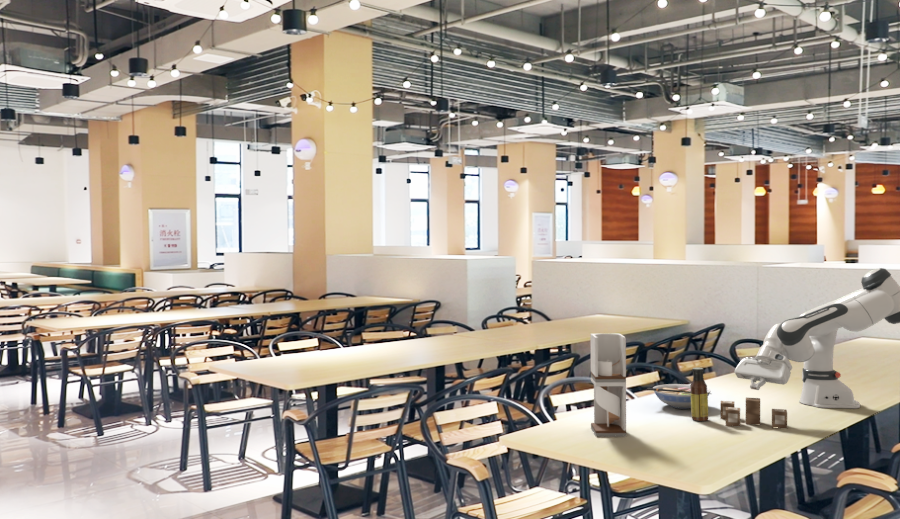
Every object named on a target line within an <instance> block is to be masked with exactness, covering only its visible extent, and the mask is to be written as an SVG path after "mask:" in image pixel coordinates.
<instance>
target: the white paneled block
mask: <svg viewBox="0 0 900 519" xmlns="http://www.w3.org/2000/svg"><path fill="white" fill-rule="evenodd" d="M726 407H734V408H735V401H732V400H720V420H726Z"/></svg>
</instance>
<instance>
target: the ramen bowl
mask: <svg viewBox="0 0 900 519" xmlns="http://www.w3.org/2000/svg"><path fill="white" fill-rule="evenodd" d="M690 385H691V384H684V383H683V384H682V383H681V384H680V383H668V384H666V383H665V384H660V385H655V386H653V387H647V388H646V391H653V392H654V394H655V395H656V397H657V398H658V399H659V401H661V402H662V403H664V404H666V405H668V406H671V408H675V409H678V408H679V410H685V409H686V410H687V409H691V387H690ZM707 393H708V397H709V396H710V395H712V393H711V389H710V388H708V387H707Z"/></svg>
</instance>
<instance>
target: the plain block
mask: <svg viewBox="0 0 900 519" xmlns="http://www.w3.org/2000/svg"><path fill="white" fill-rule="evenodd" d="M745 424H746V425H751V424H760V425H761V398H759V397H745Z"/></svg>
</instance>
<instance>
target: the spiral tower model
mask: <svg viewBox="0 0 900 519" xmlns="http://www.w3.org/2000/svg"><path fill="white" fill-rule="evenodd" d="M589 341H590V381H591V383H592V384H593V415H594V416H593V417H594V418H593V422H591V424H590V429H591V431H592V432H594V433H593V434H594V436H595V437H596V436H598V437H627V343H626V342H627V340H626V336H624V335H623V334H621V333H619V332H618V333H617V332H616V333H615V332H613V333H612V332H611V333H605V332H604V333H600V332H599V333H590V339H589Z"/></svg>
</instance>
